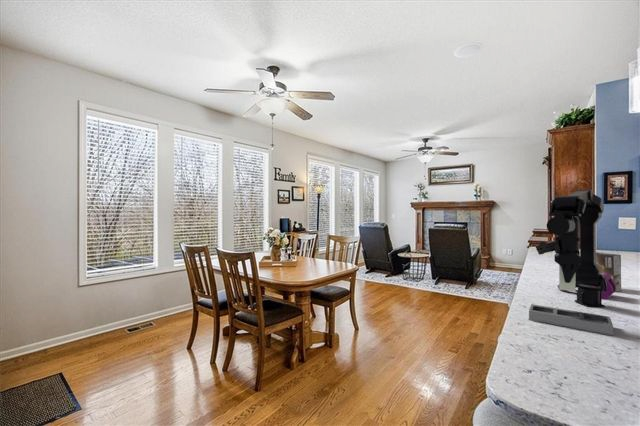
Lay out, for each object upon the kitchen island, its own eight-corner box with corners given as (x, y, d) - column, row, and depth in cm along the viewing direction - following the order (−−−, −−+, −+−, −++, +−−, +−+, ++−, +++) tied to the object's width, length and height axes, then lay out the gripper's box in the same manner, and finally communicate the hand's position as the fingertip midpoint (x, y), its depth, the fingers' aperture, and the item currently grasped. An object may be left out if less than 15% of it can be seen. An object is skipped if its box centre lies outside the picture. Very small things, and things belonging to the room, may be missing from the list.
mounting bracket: (564, 306, 129) (616, 296, 116) (554, 287, 132) (604, 276, 119) (570, 301, 135) (620, 292, 122) (560, 283, 138) (608, 272, 125)
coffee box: (622, 290, 131) (622, 254, 131) (614, 292, 129) (614, 255, 129) (596, 285, 140) (596, 252, 140) (588, 287, 138) (588, 252, 137)
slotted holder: (609, 326, 92) (609, 316, 92) (613, 335, 86) (613, 325, 85) (531, 312, 105) (531, 304, 105) (528, 319, 98) (528, 310, 98)
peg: (559, 287, 99) (559, 263, 99) (575, 289, 97) (575, 264, 97) (559, 289, 96) (559, 264, 96) (575, 291, 94) (575, 266, 94)
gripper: (539, 231, 109) (539, 273, 109) (534, 234, 95) (534, 282, 95) (579, 233, 102) (579, 278, 102) (581, 236, 87) (580, 288, 87)
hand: (567, 281), depth 96 cm, fingers closed on peg, 4 cm apart
